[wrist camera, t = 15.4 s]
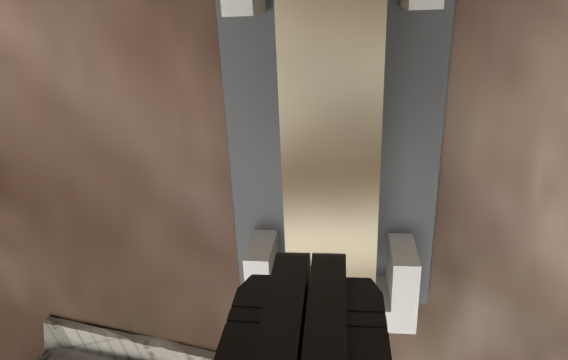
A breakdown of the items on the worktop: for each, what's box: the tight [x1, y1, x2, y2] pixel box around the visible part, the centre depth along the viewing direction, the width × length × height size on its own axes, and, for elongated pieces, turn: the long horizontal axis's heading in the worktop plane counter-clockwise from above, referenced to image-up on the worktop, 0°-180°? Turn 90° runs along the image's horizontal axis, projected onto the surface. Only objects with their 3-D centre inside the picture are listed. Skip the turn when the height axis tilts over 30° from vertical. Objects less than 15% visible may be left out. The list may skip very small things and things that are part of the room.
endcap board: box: [215, 0, 455, 334], centre depth 21 cm, size 19×10×4 cm, turn 3°
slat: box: [274, 0, 387, 284], centre depth 19 cm, size 14×4×5 cm, turn 3°
